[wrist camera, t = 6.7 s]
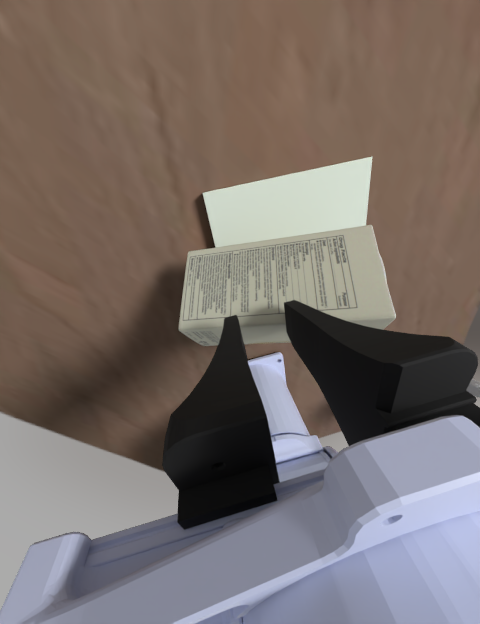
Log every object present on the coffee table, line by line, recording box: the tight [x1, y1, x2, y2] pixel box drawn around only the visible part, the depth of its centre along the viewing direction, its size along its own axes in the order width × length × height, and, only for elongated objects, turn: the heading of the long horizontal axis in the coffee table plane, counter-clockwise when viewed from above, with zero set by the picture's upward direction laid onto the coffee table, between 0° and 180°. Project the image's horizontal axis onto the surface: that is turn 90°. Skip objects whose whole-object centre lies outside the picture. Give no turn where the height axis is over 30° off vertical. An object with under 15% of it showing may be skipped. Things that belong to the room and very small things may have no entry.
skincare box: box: [179, 225, 396, 346], centre depth 15 cm, size 6×4×12 cm
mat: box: [203, 157, 372, 248], centre depth 20 cm, size 14×13×1 cm
